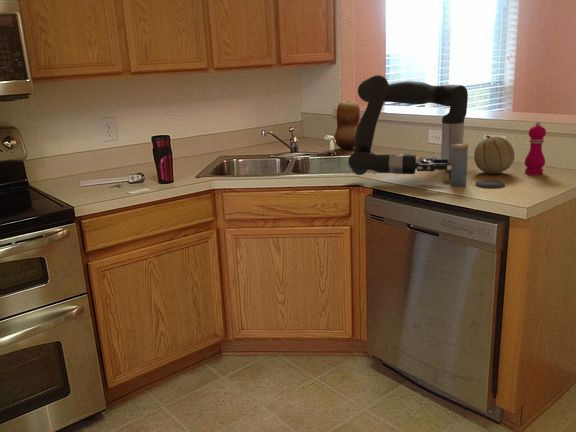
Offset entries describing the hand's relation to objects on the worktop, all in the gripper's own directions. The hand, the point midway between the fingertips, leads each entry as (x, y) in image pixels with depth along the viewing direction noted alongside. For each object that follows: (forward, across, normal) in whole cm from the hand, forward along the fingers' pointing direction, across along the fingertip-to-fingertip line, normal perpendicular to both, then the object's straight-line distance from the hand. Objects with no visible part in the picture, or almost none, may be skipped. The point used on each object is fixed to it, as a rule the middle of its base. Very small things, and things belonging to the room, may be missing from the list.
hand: (447, 164), depth 195 cm
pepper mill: (+32, +22, +8) cm, 40 cm away
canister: (+4, 0, +8) cm, 9 cm away
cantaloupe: (+17, +21, +8) cm, 28 cm away
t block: (+1, +8, +8) cm, 11 cm away
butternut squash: (-52, +77, +8) cm, 93 cm away
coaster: (+15, +1, +8) cm, 17 cm away
